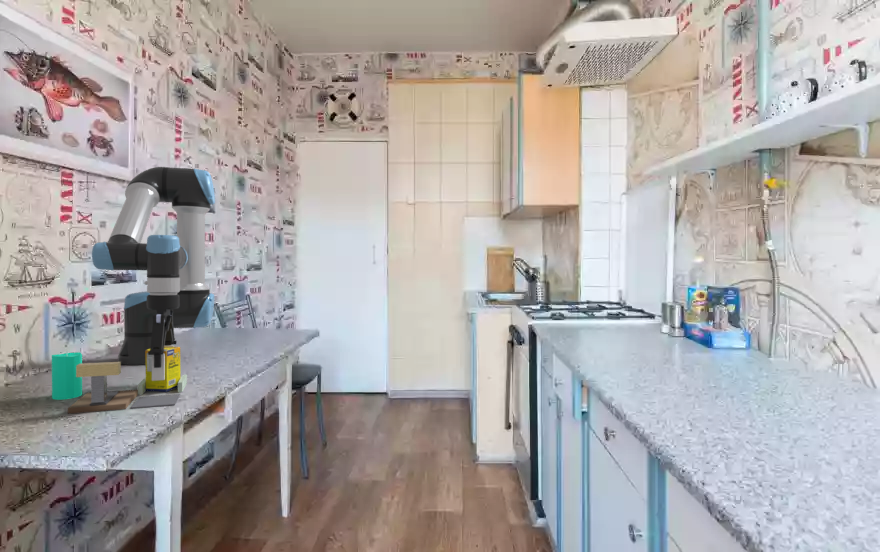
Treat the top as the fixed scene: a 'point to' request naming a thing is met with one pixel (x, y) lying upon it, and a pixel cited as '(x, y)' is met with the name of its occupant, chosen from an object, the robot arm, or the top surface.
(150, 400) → the mat
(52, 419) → the top surface
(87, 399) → the board
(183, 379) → the clip holder
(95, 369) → the t key
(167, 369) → the supplement box
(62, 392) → the candle
